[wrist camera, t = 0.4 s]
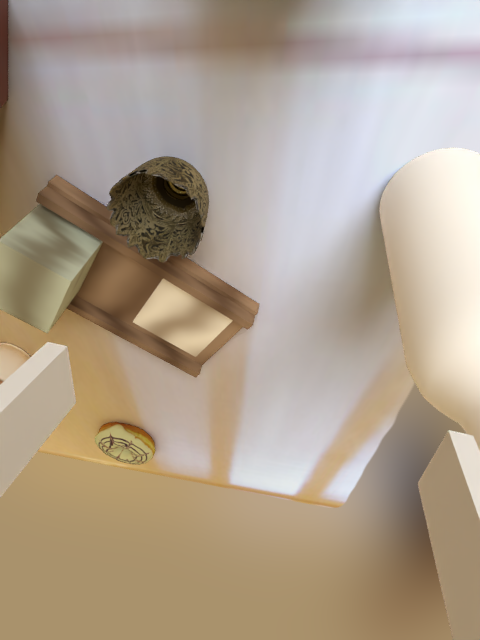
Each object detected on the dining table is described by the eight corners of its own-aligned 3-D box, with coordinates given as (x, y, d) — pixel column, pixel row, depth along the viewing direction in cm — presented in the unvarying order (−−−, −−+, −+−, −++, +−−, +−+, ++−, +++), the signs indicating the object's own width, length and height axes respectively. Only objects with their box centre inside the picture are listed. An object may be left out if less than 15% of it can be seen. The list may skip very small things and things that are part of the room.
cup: (159, 218, 38) (128, 266, 33) (130, 141, 33) (88, 181, 28) (231, 211, 36) (212, 260, 31) (212, 128, 31) (185, 168, 26)
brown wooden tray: (27, 266, 46) (-19, 315, 40) (56, 175, 37) (2, 219, 31) (199, 361, 53) (182, 415, 47) (259, 304, 44) (247, 361, 38)
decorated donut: (113, 411, 67) (104, 430, 64) (167, 437, 70) (160, 456, 67) (93, 432, 73) (84, 450, 71) (144, 455, 76) (137, 473, 74)
